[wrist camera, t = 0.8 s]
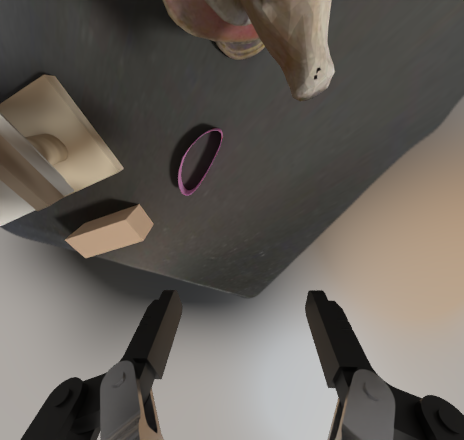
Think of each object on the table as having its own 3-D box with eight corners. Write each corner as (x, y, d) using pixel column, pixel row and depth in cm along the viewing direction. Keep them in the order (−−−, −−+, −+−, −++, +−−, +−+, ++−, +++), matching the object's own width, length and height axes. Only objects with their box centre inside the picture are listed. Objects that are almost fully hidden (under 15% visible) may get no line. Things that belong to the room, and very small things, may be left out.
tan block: (85, 222, 33) (64, 239, 29) (139, 203, 31) (125, 219, 27) (102, 239, 36) (85, 258, 32) (154, 223, 34) (143, 240, 29)
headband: (202, 116, 24) (200, 118, 22) (227, 133, 25) (227, 136, 23) (172, 181, 29) (169, 187, 27) (194, 193, 30) (192, 199, 28)
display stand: (-26, 128, 24) (-306, 160, 12) (73, 63, 21) (-177, 6, 8) (53, 201, 30) (-72, 273, 18) (140, 161, 27) (59, 216, 14)
